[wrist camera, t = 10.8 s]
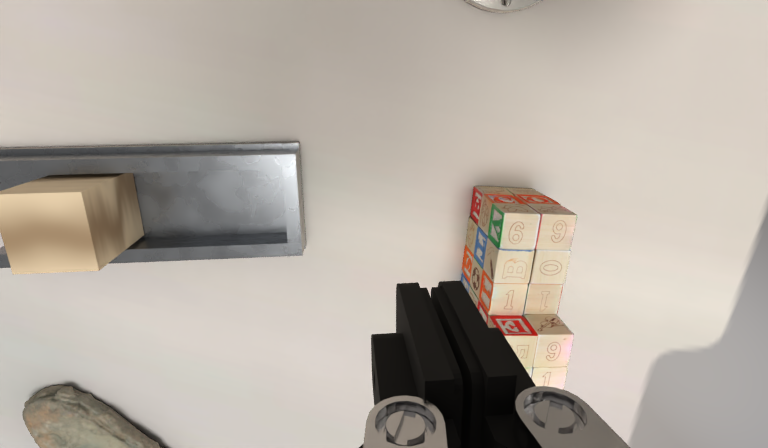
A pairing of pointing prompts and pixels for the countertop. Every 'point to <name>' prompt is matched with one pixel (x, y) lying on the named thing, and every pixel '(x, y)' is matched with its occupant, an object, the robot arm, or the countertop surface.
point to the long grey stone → (78, 422)
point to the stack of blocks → (522, 274)
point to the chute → (189, 195)
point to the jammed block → (69, 222)
